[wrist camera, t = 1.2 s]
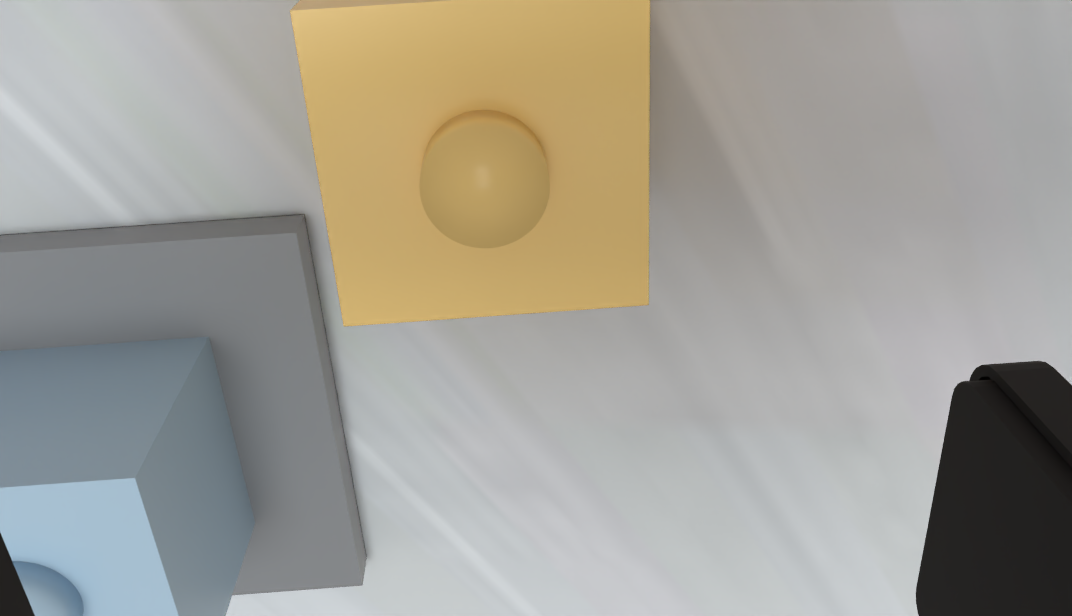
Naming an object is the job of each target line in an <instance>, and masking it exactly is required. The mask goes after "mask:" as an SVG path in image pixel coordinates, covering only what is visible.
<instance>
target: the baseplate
mask: <svg viewBox="0 0 1072 616" xmlns="http://www.w3.org/2000/svg"><path fill="white" fill-rule="evenodd" d="M195 337H209V339H210V343H211V347H212V351H213V355H214V359H215V363H216V367H217V371H218V375H219V379H220V384H221V388H222V392H223V396H224V400H225V404H226V408H227V412H228V416H229V420H230V424H231V428H232V432H233V436H234V440H235V444H236V448H237V452H238V456H239V460H240V464H241V468H242V472H243V476H244V480H245V484H246V488H247V492H248V496H249V500H250V504H251V508H252V512H253V516H254V520H255V525H254V528H253V531H252V534H251V537H250V541H249V544H248V547H247V550H246V553H245V556H244V559H243V562H242V566H241V569H240V572H239V575H238V578H237V581H236V584H235V587H234V590H233V594H232V595H242V594H255V593H268V592H281V591H294V590H308V589H321V588H334V587H347V586H361V585H362V584H363V578H364V571H365V565H366V559H367V558H366V553H365V547H364V542H363V536H362V531H361V525H360V520H359V514H358V509H357V503H356V498H355V492H354V487H353V481H352V476H351V470H350V465H349V459H348V454H347V448H346V443H345V437H344V432H343V426H342V421H341V415H340V410H339V404H338V399H337V393H336V388H335V382H334V377H333V371H332V365H331V360H330V354H329V349H328V343H327V338H326V332H325V327H324V321H323V316H322V310H321V305H320V299H319V294H318V288H317V283H316V277H315V272H314V266H313V261H312V255H311V250H310V244H309V239H308V233H307V228H306V222H305V217H304V215H292V216H277V217H262V218H247V219H233V220H218V221H203V222H188V223H173V224H159V225H144V226H129V227H114V228H100V229H85V230H70V231H55V232H40V233H26V234H11V235H0V351H10V350H24V349H38V348H53V347H67V346H81V345H96V344H110V343H124V342H138V341H153V340H167V339H181V338H195Z"/></svg>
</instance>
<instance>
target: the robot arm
mask: <svg viewBox="0 0 1072 616" xmlns="http://www.w3.org/2000/svg"><path fill="white" fill-rule="evenodd" d="M916 604H917V610H918V614H919V616H1072V385H1071V384H1070V383H1069V382H1068V381H1067V380H1066V379H1065V378H1064V377H1063V376H1061V375H1060V374H1059V373H1058V372H1057V371H1056V370H1055V369H1054V368H1053V367H1052V366H1050V365H1049V364H1047V363H1046V362H1041V361H1032V362H1017V363H1003V364H989V365H981V366H979V367H977V368H976V369H975V370H974V372H973V373H972V375H971V377H970V381H963V382H961V383H959V384H957V386H956V387H955V389H954V392H953V395H952V400H951V405H950V411H949V416H948V421H947V427H946V432H945V437H944V443H943V448H942V454H941V459H940V464H939V470H938V475H937V480H936V486H935V491H934V496H933V502H932V507H931V513H930V518H929V523H928V529H927V534H926V539H925V545H924V550H923V556H922V561H921V566H920V572H919V577H918V582H917V588H916ZM0 616H35V615H34V612H33V610H32V607H31V605H30V603H29V600H28V598H27V595H26V593H25V591H24V588H23V586H22V583H21V581H20V579H19V576H18V574H17V571H16V569H15V567H14V564H13V562H12V559H11V557H10V555H9V552H8V550H7V547H6V545H5V543H4V540H3V538H2V535H1V533H0Z"/></svg>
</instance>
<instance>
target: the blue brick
mask: <svg viewBox="0 0 1072 616" xmlns="http://www.w3.org/2000/svg"><path fill="white" fill-rule="evenodd" d="M254 525H255V520H254V516H253V512H252V508H251V504H250V500H249V496H248V492H247V488H246V484H245V480H244V476H243V472H242V468H241V464H240V460H239V456H238V452H237V448H236V444H235V440H234V436H233V432H232V428H231V424H230V420H229V416H228V412H227V408H226V404H225V400H224V396H223V392H222V388H221V384H220V379H219V375H218V371H217V367H216V363H215V359H214V355H213V351H212V347H211V343H210V339H209V337H195V338H181V339H167V340H153V341H138V342H124V343H110V344H96V345H81V346H67V347H53V348H38V349H24V350H10V351H0V533H1V535H2V538H3V540H4V543H5V545H6V547H7V550H8V552H9V555H10V557H11V559H12V562H13V564H14V567H15V569H16V571H17V574H18V576H19V579H20V581H21V583H22V586H23V588H24V591H25V593H26V595H27V598H28V600H29V603H30V605H31V607H32V610H33V612H34V615H35V616H225V615H226V612H227V609H228V606H229V603H230V600H231V597H232V594H233V590H234V587H235V584H236V581H237V578H238V575H239V572H240V569H241V566H242V562H243V559H244V556H245V553H246V550H247V547H248V544H249V541H250V537H251V534H252V531H253V528H254Z"/></svg>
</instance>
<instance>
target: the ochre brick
mask: <svg viewBox="0 0 1072 616" xmlns="http://www.w3.org/2000/svg"><path fill="white" fill-rule="evenodd" d="M290 14H291V20H292V26H293V32H294V37H295V43H296V49H297V55H298V61H299V67H300V73H301V78H302V84H303V90H304V96H305V102H306V108H307V114H308V120H309V125H310V131H311V137H312V143H313V149H314V155H315V161H316V166H317V172H318V178H319V184H320V190H321V196H322V202H323V208H324V213H325V219H326V225H327V231H328V237H329V243H330V249H331V254H332V260H333V266H334V272H335V278H336V284H337V290H338V296H339V301H340V307H341V313H342V319H343V325H344V326H357V325H371V324H386V323H400V322H414V321H428V320H443V319H457V318H471V317H486V316H500V315H514V314H528V313H543V312H557V311H571V310H585V309H600V308H614V307H628V306H642V305H649V117H650V0H300V1H299V2H298V3H297V4H296V5H295V6H294V7H293V8H292V9H291V10H290Z"/></svg>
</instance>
